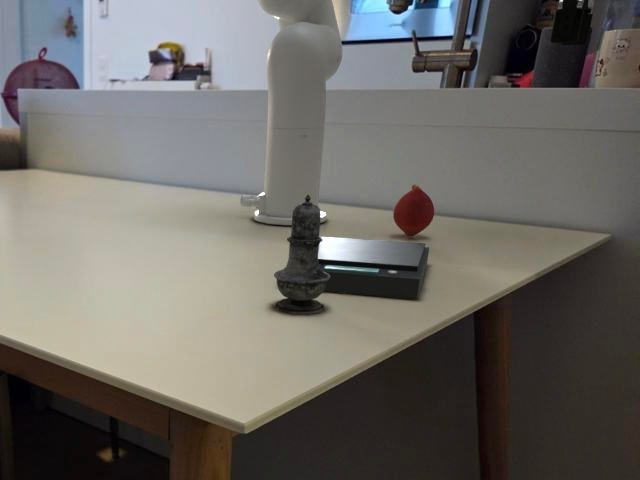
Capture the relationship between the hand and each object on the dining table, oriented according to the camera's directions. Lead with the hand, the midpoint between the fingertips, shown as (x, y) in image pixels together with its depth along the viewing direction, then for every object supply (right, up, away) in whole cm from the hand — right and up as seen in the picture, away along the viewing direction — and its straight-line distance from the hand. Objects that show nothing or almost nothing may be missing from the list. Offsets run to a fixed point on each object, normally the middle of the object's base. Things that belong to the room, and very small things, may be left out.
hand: (568, 43), depth 102 cm
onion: (-18, -25, +11) cm, 33 cm away
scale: (-33, -34, -11) cm, 49 cm away
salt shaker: (-44, -40, -23) cm, 63 cm away
